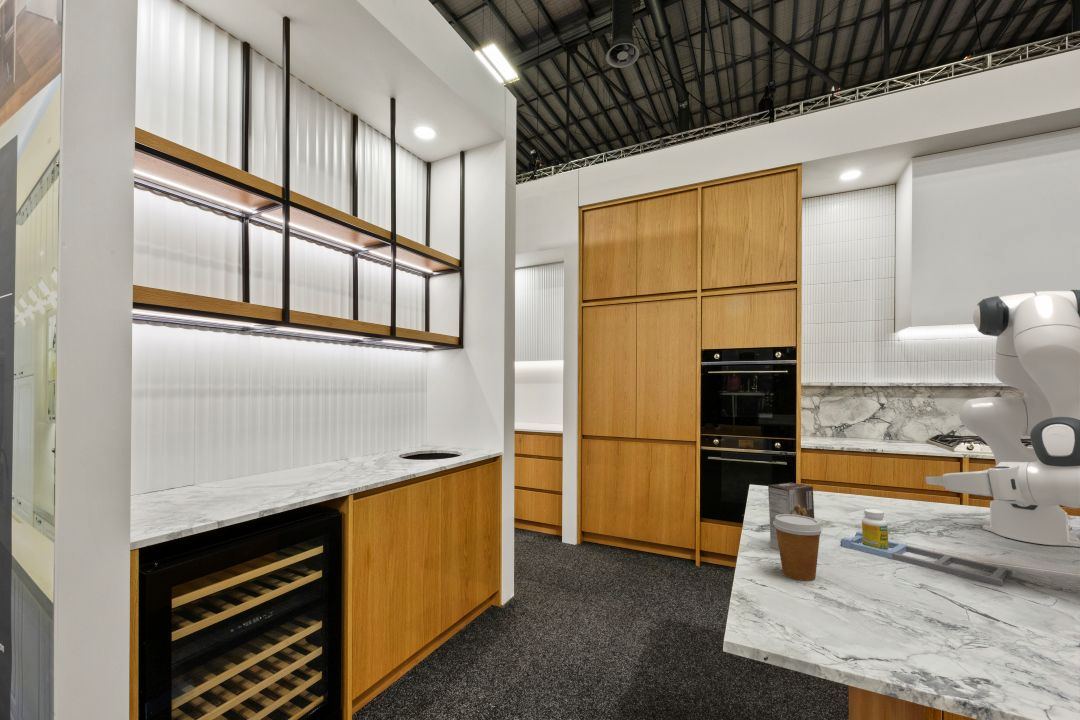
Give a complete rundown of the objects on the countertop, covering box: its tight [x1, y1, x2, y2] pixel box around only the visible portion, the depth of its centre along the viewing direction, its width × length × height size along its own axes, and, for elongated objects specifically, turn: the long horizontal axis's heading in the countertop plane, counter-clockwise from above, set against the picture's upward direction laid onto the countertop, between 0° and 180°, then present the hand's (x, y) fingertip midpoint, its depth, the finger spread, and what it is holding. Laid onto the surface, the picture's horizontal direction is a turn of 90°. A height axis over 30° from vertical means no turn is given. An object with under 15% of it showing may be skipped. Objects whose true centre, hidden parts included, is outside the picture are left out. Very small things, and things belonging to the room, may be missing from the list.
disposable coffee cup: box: [773, 514, 823, 582], centre depth 100 cm, size 10×10×12 cm
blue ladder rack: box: [839, 530, 1014, 587], centre depth 109 cm, size 11×30×2 cm, turn 35°
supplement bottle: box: [861, 508, 889, 551], centre depth 116 cm, size 5×5×10 cm
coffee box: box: [767, 482, 815, 551], centre depth 116 cm, size 9×6×16 cm
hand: (935, 479), depth 109 cm, fingers open, 8 cm apart
